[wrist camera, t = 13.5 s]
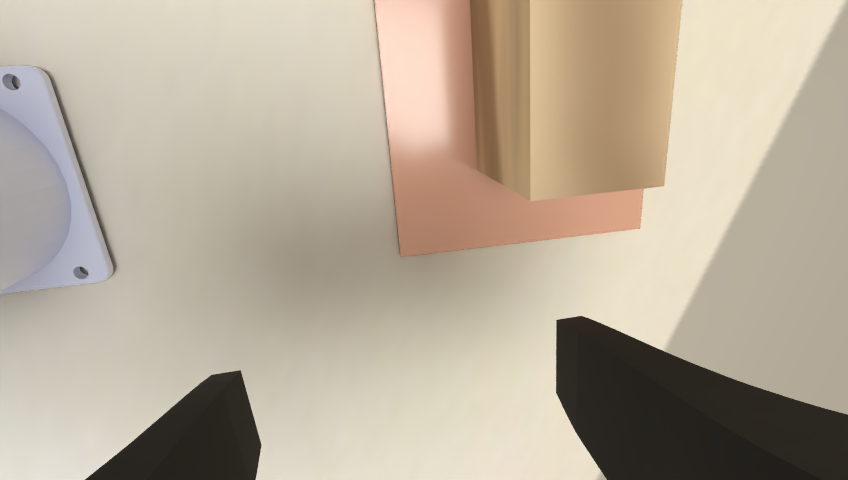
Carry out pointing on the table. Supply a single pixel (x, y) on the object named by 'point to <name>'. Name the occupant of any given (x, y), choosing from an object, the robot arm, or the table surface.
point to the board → (461, 145)
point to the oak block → (573, 93)
